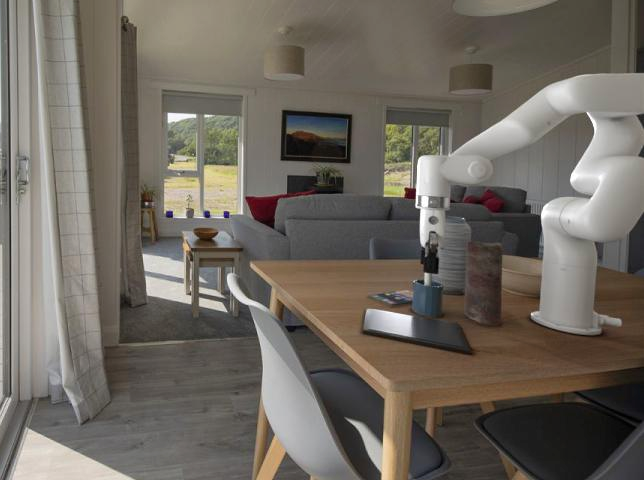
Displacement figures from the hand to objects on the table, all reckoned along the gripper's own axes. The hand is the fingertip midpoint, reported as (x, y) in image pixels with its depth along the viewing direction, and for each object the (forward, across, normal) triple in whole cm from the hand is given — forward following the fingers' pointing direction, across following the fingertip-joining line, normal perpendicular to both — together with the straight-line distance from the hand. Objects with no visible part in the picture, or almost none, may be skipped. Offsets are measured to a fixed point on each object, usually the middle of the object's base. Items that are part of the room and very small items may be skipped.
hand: (428, 268), depth 101 cm
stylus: (+11, 0, 0) cm, 11 cm away
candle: (+12, +2, -12) cm, 17 cm away
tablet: (+12, -14, +4) cm, 19 cm away
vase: (+12, +26, -7) cm, 30 cm away
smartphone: (+12, +8, +6) cm, 16 cm away
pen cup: (+12, 0, 0) cm, 12 cm away
